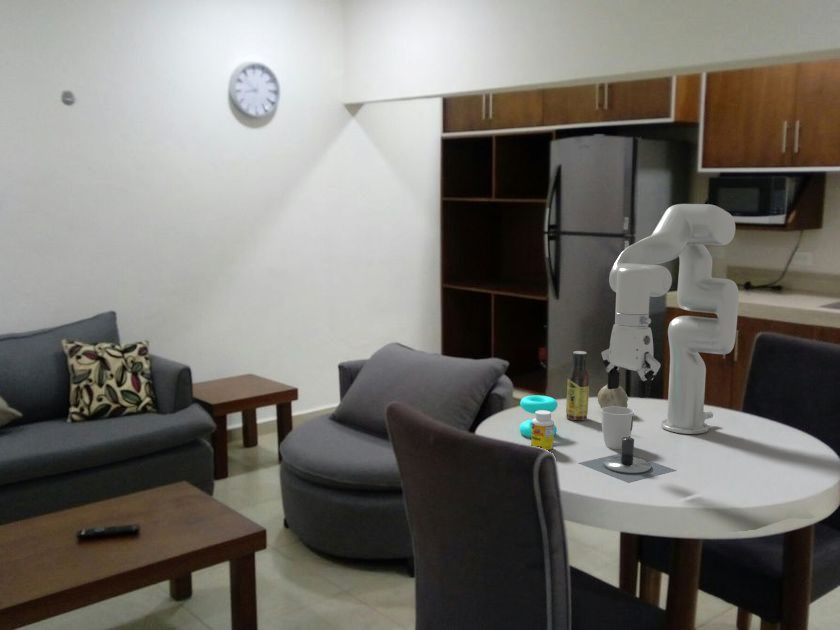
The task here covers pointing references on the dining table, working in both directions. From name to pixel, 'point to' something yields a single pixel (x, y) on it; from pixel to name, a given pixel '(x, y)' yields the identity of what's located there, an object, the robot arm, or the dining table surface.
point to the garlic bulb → (612, 397)
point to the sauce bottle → (578, 388)
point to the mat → (655, 470)
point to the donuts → (533, 405)
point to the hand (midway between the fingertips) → (628, 392)
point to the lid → (627, 460)
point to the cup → (616, 425)
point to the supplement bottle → (542, 430)
